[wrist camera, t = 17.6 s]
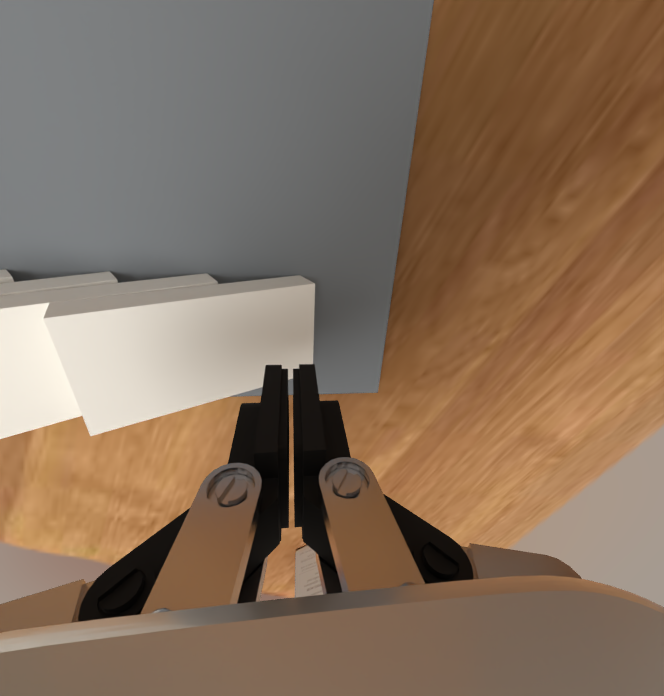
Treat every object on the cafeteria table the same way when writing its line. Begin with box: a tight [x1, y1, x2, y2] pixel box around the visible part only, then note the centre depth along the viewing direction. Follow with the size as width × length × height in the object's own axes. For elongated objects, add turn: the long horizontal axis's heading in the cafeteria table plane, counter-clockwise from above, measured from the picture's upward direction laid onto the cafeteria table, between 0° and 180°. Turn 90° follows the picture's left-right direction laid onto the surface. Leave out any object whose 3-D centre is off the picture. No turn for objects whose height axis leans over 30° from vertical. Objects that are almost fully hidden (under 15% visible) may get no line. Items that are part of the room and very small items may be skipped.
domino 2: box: [43, 275, 315, 436], centre depth 14 cm, size 2×5×10 cm
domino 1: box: [0, 273, 218, 439], centre depth 14 cm, size 2×5×10 cm
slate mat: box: [0, 0, 434, 397], centre depth 14 cm, size 26×21×1 cm
